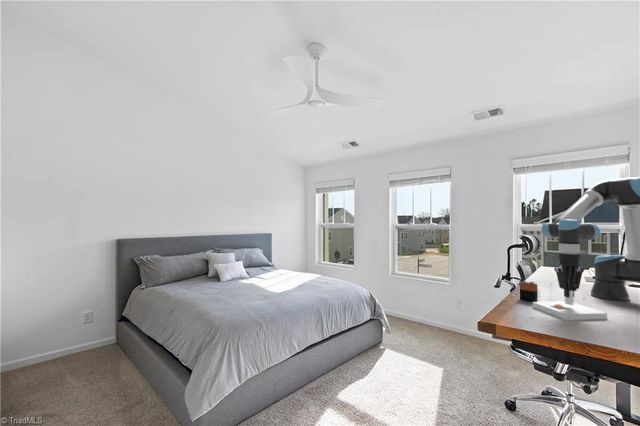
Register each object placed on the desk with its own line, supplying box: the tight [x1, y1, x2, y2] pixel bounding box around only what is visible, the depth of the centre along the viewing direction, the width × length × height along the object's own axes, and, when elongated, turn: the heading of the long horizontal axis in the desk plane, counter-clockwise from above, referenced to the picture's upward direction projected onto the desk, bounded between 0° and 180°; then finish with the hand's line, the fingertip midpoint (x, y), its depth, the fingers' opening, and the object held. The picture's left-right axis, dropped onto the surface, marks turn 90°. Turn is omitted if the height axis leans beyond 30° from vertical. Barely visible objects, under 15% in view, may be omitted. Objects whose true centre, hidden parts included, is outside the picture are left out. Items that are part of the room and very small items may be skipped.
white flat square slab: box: [532, 300, 608, 321], centre depth 136 cm, size 19×18×2 cm
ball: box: [553, 304, 564, 310], centre depth 135 cm, size 4×4×4 cm
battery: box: [519, 280, 538, 303], centre depth 156 cm, size 4×7×10 cm, turn 35°
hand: (569, 304), depth 136 cm, fingers closed
